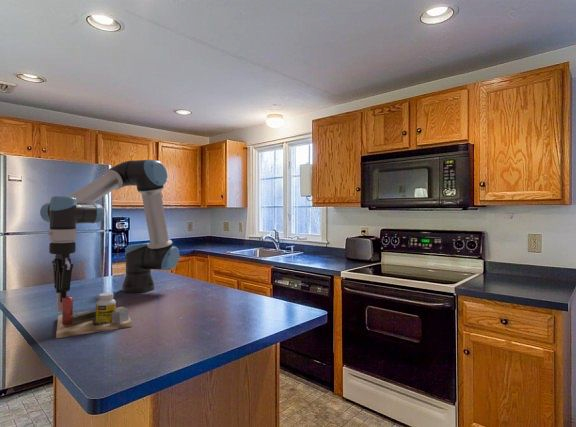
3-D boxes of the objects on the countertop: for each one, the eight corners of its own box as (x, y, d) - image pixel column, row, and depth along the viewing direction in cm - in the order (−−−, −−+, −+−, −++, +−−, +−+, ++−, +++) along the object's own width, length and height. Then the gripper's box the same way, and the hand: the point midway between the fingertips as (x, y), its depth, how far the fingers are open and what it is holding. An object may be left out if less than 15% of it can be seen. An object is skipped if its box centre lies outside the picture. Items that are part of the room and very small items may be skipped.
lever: (104, 311, 132) (104, 287, 132) (110, 313, 131) (110, 288, 130) (59, 324, 118) (59, 297, 117) (66, 326, 116) (66, 298, 116)
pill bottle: (95, 329, 120) (95, 296, 120) (96, 323, 125) (96, 292, 125) (116, 326, 123) (115, 294, 123) (115, 321, 128) (115, 291, 128)
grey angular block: (120, 323, 126) (120, 307, 126) (128, 323, 126) (128, 308, 125) (111, 328, 121) (111, 311, 121) (119, 328, 121) (119, 312, 121)
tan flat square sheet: (123, 310, 142) (123, 305, 142) (131, 326, 123) (131, 320, 123) (58, 319, 130) (58, 314, 130) (56, 338, 111) (56, 332, 111)
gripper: (44, 240, 121) (43, 309, 122) (56, 243, 113) (55, 317, 113) (68, 239, 127) (67, 305, 127) (81, 242, 119) (80, 312, 119)
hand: (61, 310), depth 120 cm, fingers closed
